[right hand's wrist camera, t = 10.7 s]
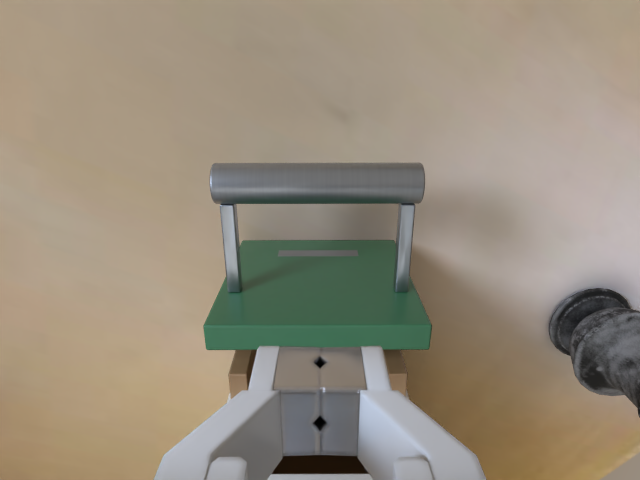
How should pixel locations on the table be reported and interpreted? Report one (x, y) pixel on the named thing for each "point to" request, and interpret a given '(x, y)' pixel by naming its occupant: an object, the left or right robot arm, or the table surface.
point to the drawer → (317, 277)
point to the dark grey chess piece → (600, 342)
